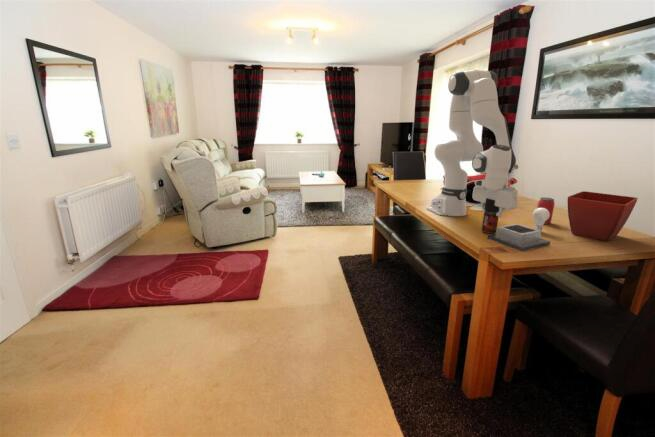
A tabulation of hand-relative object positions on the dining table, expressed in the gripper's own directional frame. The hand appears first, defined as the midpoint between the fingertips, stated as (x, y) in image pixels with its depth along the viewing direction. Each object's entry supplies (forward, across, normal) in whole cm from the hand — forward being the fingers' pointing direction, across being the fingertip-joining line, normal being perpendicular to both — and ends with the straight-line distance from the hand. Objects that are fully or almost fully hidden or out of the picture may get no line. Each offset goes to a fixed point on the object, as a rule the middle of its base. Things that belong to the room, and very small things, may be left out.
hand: (491, 214), depth 141 cm
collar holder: (+8, -14, -1) cm, 16 cm away
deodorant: (+8, 0, 0) cm, 8 cm away
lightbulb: (+8, -8, -21) cm, 24 cm away
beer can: (+9, 0, -36) cm, 37 cm away
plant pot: (+8, -22, -38) cm, 44 cm away
